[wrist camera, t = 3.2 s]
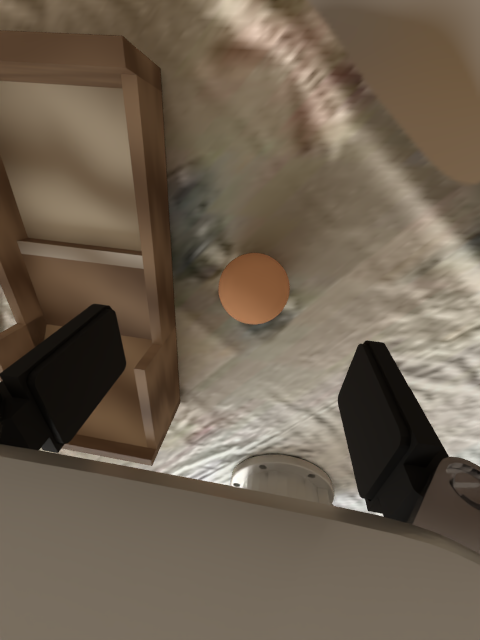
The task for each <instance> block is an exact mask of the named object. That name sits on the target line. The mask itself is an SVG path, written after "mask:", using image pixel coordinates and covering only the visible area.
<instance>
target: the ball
mask: <svg viewBox="0 0 480 640" xmlns="http://www.w3.org/2000/svg"><path fill="white" fill-rule="evenodd" d="M289 290H290V288H289V280H288V277H287V274H286V272H285V270H284V269H283V267H282V266H281V265H280V264H279V263H278V262H277V261H276V260H275V259H273V258H272V257H270V256H268V255H265V254H261V253H248V254H244V255H241V256H239V257H237V258H235V259H234V260H232V261H231V262H230V263H229V264H228V265H227V266H226V268H225V269H224V271H223V272H222V275H221V277H220V281H219V297H220V300H221V303H222V305H223V307H224V308H225V310H226V311H227V312H228V313H229V314H230V315H231V316H232V317H233V318H235V319H236V320H238V321H240V322H243V323H247V324H261V323H265V322H267V321H270V320H271V319H273V318H275V317H276V316H277V315H278V314H279V313H280V312H281V311H282V310H283V308H284V307H285V305H286V303H287V300H288V297H289Z"/></svg>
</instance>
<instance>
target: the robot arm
mask: <svg viewBox="0 0 480 640" xmlns="http://www.w3.org/2000/svg"><path fill="white" fill-rule="evenodd" d="M125 368H126V358H125V353H124V349H123V344H122V339H121V335H120V330H119V326H118V321H117V316H116V312H115V311H114V310H112V308H111V307H110V306H109V305H101V304H92V305H90V306H89V307H88V308H86V309H85V310H84V311H82V312H81V313H80V314H78V315H77V316H76V317H74V318H73V319H72V320H70V321H69V322H68V323H66V324H65V325H64V326H62V327H61V328H60V329H58V330H57V331H56V332H54V333H53V334H52V335H50V336H49V337H48V338H46V339H45V340H44V341H42V342H41V343H40V344H38V345H37V346H36V347H34V348H33V349H32V350H30V351H29V352H28V353H26V354H25V355H24V356H22V357H21V358H20V359H18V360H17V361H16V362H14V363H13V364H12V365H10V366H9V367H8V368H6V369H5V370H4V371H2V372H1V373H0V377H1V379H2V382H0V640H480V467H479V466H478V465H476V464H474V463H472V462H470V461H468V460H465V459H462V458H458V457H449V456H448V454H447V453H446V451H445V449H444V447H443V445H442V444H441V442H440V440H439V438H438V437H437V435H436V433H435V431H434V430H433V428H432V426H431V424H430V422H429V421H428V419H427V417H426V415H425V414H424V412H423V410H422V408H421V407H420V405H419V403H418V401H417V399H416V398H415V396H414V394H413V392H412V391H411V389H410V387H409V386H408V384H407V383H406V381H405V379H404V377H403V375H402V374H401V372H400V370H399V368H398V367H397V365H396V363H395V361H394V359H393V358H392V356H391V354H390V352H389V351H388V349H387V347H386V345H385V344H384V343H381V342H374V341H365V342H364V344H359V345H358V347H357V350H356V352H355V355H354V357H353V360H352V362H351V365H350V367H349V370H348V372H347V375H346V377H345V380H344V382H343V385H342V387H341V390H340V392H339V395H338V405H339V410H340V414H341V418H342V423H343V427H344V431H345V436H346V440H347V444H348V449H349V453H350V457H351V462H352V466H353V470H354V475H355V479H356V483H357V488H358V492H359V495H360V497H361V498H364V499H365V501H366V505H367V509H368V511H372V512H377V513H382V514H383V516H384V517H382V516H378V515H374V514H369V513H364V512H359V511H355V510H350V509H345V508H341V507H336V506H333V504H332V502H333V500H334V491H333V485H332V482H331V480H330V478H329V477H328V475H327V474H326V473H325V472H324V471H322V470H321V469H320V468H318V467H317V466H315V465H314V464H312V463H310V462H307V461H305V460H302V459H299V458H296V457H292V456H286V455H274V454H272V455H261V456H256V457H252V458H249V459H247V460H245V461H243V462H241V463H240V464H239V465H238V466H237V467H236V468H235V469H234V471H233V472H232V477H231V486H229V485H223V484H218V483H213V482H207V481H202V480H197V479H191V478H186V477H181V476H175V475H170V474H165V473H159V472H154V471H149V470H143V469H138V468H133V467H127V466H122V465H116V464H111V463H105V462H100V461H94V460H89V459H83V458H78V457H72V456H67V455H61V454H56V453H58V452H59V451H60V450H61V448H62V447H63V446H64V444H67V443H69V442H70V441H71V440H72V439H73V437H74V436H75V435H76V434H77V432H78V431H79V430H80V428H81V427H82V426H83V424H84V423H85V422H86V420H87V419H88V418H89V416H90V415H91V414H92V412H93V411H94V410H95V408H96V407H97V406H98V404H99V403H100V402H101V400H102V399H103V398H104V397H105V395H106V394H107V393H108V391H109V390H110V389H111V387H112V386H113V385H114V383H115V382H116V381H117V379H118V378H119V377H120V375H121V374H122V373H123V371H124V370H125ZM40 448H42V449H43V450H45V451H51V452H56V453H50V452H45V451H39V449H40Z"/></svg>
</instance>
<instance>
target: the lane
mask: <svg viewBox="0 0 480 640" xmlns="http://www.w3.org/2000/svg"><path fill="white" fill-rule="evenodd" d="M0 284H1V286H2V289H3V291H4V294H5V296H6V298H7V301H8V303H9V305H10V308H11V310H12V313H13V315H14V317H15V320H16V322H17V324H15V325H14V326H12V327H10V328H8V329H6V330H5V331H3V332H1V333H0V373H1V372H2V371H4V370H5V369H6V368H8V367H9V366H10V365H12V364H13V363H14V362H16V361H17V360H18V359H20V358H21V357H22V356H24V355H25V354H26V353H28V352H29V351H30V350H32V349H33V348H34V347H36V346H37V345H38V344H40V343H41V342H42V341H44V340H45V339H46V338H48V337H49V336H50V335H52V334H53V333H54V332H56V331H57V330H58V329H60V328H61V327H62V326H64V325H65V324H66V323H68V322H69V321H70V320H72V319H73V318H74V317H76V316H77V315H78V314H80V313H81V312H82V311H84V310H85V309H86V308H88V307H89V306H90V305H92V304H101V305H109V306H110V307H111V308H112V310H114V311H115V312H116V316H117V321H118V326H119V330H120V335H121V339H122V344H123V349H124V353H125V358H126V368H125V370H124V371H123V373H122V374H121V375H120V377H119V378H118V379H117V381H116V382H115V383H114V385H113V386H112V387H111V389H110V390H109V391H108V393H107V394H106V395H105V397H104V398H103V399H102V400H101V402H100V403H99V404H98V406H97V407H96V408H95V410H94V411H93V412H92V414H91V415H90V416H89V418H88V419H87V420H86V422H85V423H84V424H83V426H82V427H81V428H80V430H79V431H78V432H77V434H76V435H75V436H74V437H73V439H72V440H71V441H70V442H69V443H67V444H64V446H63V447H62V448H63V449H68V450H73V451H78V452H83V453H89V454H94V455H99V456H104V457H109V458H114V459H120V460H125V461H130V462H135V463H140V464H145V465H151V466H152V465H153V463H154V460H155V458H156V456H157V454H158V451H159V449H160V447H161V445H162V442H163V440H164V438H165V436H166V434H167V431H168V429H169V427H170V425H171V422H172V420H173V418H174V416H175V413H176V411H177V409H178V407H179V404H180V390H179V373H178V356H177V340H176V323H175V306H174V289H173V272H172V255H171V239H170V222H169V205H168V188H167V171H166V154H165V138H164V121H163V104H162V87H161V70H160V68H159V67H158V66H157V65H156V64H154V63H153V62H152V61H151V60H150V59H149V58H147V57H146V56H145V55H144V54H143V53H142V52H140V51H139V50H138V49H137V48H136V47H135V46H133V45H132V44H131V43H130V42H129V41H128V40H126V39H125V38H124V37H123V36H114V35H91V34H69V33H46V32H24V31H1V30H0ZM0 381H1V382H2V379H1V377H0Z"/></svg>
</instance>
